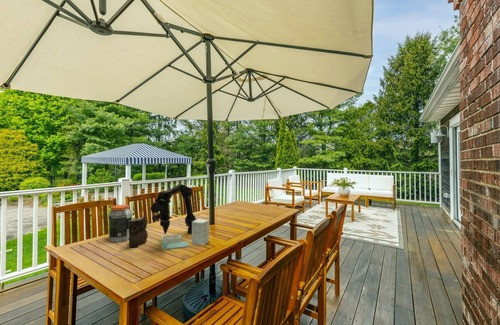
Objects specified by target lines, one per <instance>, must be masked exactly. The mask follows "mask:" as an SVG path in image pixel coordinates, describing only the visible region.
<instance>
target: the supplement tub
mask: <svg viewBox="0 0 500 325" xmlns="http://www.w3.org/2000/svg"><path fill="white" fill-rule="evenodd" d="M110 210H111V211H110V212H109V213H108V236H109V237H108V238H109V241H110V242H113V243H119V242H121V243H122V242H125V241H129V221H132V220H133V219H132V218H133V216H132V210H131V209H130V205H129V204H117V205H112V206H110Z"/></svg>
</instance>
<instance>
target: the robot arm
mask: <svg viewBox="0 0 500 325" xmlns="http://www.w3.org/2000/svg"><path fill="white" fill-rule="evenodd" d="M177 193H180V195H181V197H182V198H183V199H184V204H185V205H184V206H185V211H186V217H185V218H184V224H185V226H186V227H187V234H191V235H192V222H193V221H195V220H197V218H196V216H195V215H194V212H193V211H194V210H193V205H192V196H193V189H192V188H191V187H188V186H186V184H182V183H181V184H180V183H178V184H177V185H175V186H173V187H171V188H170V189H166V190H162V191H159V193H158V195H157V197H156V199H155V202H153V203H152V204H151V206H150V211H151V213H154V215H152V216H151V219H152V221H153V222H156V221H158V220H160V221H159V226H160V227H162V230H163V234H165V235H166V234H167V232H168V230H169V227H170V225H171V220H170V203H171V202H172V201H171V198H172V197H173V195H175V194H177Z"/></svg>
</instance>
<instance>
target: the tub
mask: <svg viewBox="0 0 500 325" xmlns="http://www.w3.org/2000/svg"><path fill="white" fill-rule="evenodd" d="M174 237H177V238H174ZM166 238H169V239H166ZM166 240H167V244H168V243H176V242H182V235H181V233H177V234H176V233H175V234H167V235H166V234H165V235H162V236H161V242H162V241H166Z"/></svg>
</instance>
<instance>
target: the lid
mask: <svg viewBox="0 0 500 325" xmlns="http://www.w3.org/2000/svg"><path fill="white" fill-rule="evenodd" d="M188 247H189V243H188V240H185V241H181V242H175V243H167V240H166V241H162V240H161V250H164V249H165V250H166V249H167V250H173V249H182V248H188Z"/></svg>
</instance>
